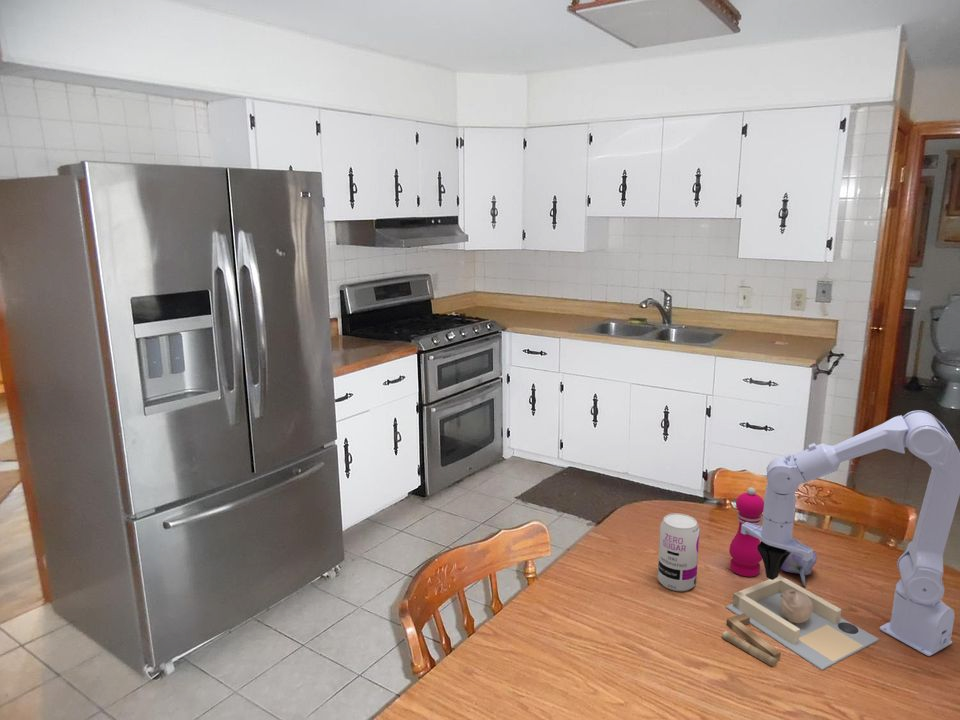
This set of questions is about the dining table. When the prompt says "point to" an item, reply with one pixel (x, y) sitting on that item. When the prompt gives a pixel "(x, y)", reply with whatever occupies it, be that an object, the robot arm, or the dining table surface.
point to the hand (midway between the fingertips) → (772, 577)
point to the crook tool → (751, 635)
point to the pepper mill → (747, 535)
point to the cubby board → (812, 639)
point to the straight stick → (749, 648)
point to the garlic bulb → (796, 606)
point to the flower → (799, 565)
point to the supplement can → (678, 552)
